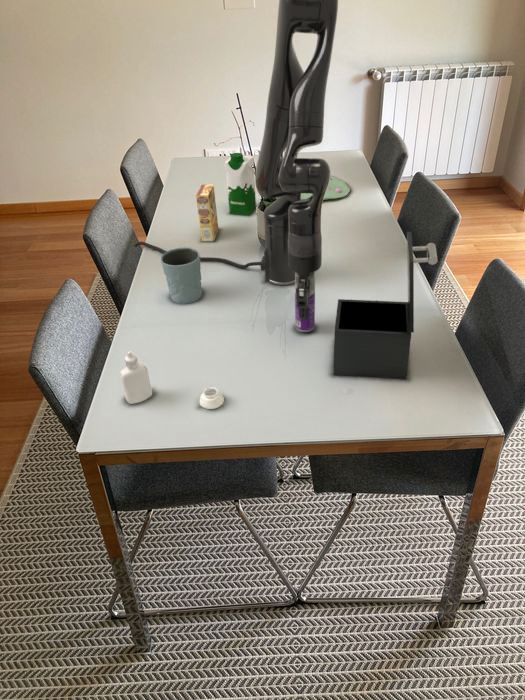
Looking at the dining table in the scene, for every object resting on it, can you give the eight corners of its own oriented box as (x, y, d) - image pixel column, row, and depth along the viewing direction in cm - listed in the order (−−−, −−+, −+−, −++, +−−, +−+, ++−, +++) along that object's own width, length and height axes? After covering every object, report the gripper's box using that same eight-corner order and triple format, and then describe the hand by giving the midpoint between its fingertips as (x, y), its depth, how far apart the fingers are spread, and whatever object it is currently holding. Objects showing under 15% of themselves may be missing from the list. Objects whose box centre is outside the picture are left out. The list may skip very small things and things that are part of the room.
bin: (333, 375, 132) (334, 330, 125) (336, 341, 142) (338, 299, 135) (406, 379, 129) (411, 334, 122) (404, 345, 139) (409, 302, 132)
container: (313, 332, 144) (313, 278, 135) (293, 331, 145) (293, 277, 136) (315, 322, 148) (316, 268, 139) (297, 320, 149) (296, 267, 140)
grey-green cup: (211, 290, 164) (206, 250, 157) (192, 308, 157) (187, 268, 150) (179, 283, 168) (173, 244, 161) (160, 301, 160) (152, 261, 153)
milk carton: (226, 214, 204) (221, 156, 193) (236, 204, 211) (231, 147, 199) (250, 217, 202) (246, 158, 190) (259, 206, 209) (256, 148, 197)
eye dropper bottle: (127, 391, 131) (117, 347, 123) (153, 389, 131) (144, 345, 123) (125, 404, 127) (113, 359, 120) (151, 403, 127) (142, 358, 120)
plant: (290, 178, 229) (289, 155, 223) (344, 175, 228) (345, 152, 223) (294, 204, 208) (294, 179, 203) (354, 201, 208) (355, 176, 203)
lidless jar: (228, 402, 126) (214, 391, 129) (227, 391, 124) (212, 380, 127) (209, 413, 123) (195, 402, 127) (208, 403, 122) (193, 391, 125)
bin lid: (409, 260, 113) (439, 259, 111) (407, 231, 123) (434, 230, 121) (409, 332, 122) (437, 332, 121) (407, 300, 132) (433, 299, 131)
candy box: (214, 241, 188) (209, 195, 179) (201, 241, 188) (195, 195, 179) (219, 229, 195) (214, 184, 186) (206, 229, 196) (201, 184, 187)
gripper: (292, 233, 140) (293, 295, 150) (283, 262, 129) (285, 328, 139) (324, 234, 139) (323, 297, 149) (318, 263, 127) (317, 329, 138)
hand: (305, 311), depth 144 cm, fingers closed on container, 4 cm apart
